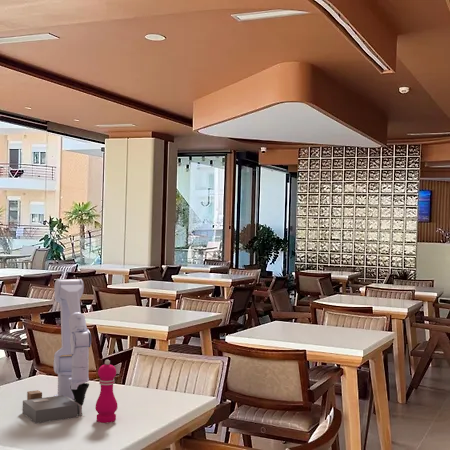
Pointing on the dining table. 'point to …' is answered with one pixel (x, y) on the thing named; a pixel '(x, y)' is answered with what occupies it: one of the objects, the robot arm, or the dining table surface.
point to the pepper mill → (106, 394)
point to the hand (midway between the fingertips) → (79, 405)
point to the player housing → (49, 409)
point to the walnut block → (34, 395)
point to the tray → (79, 407)
